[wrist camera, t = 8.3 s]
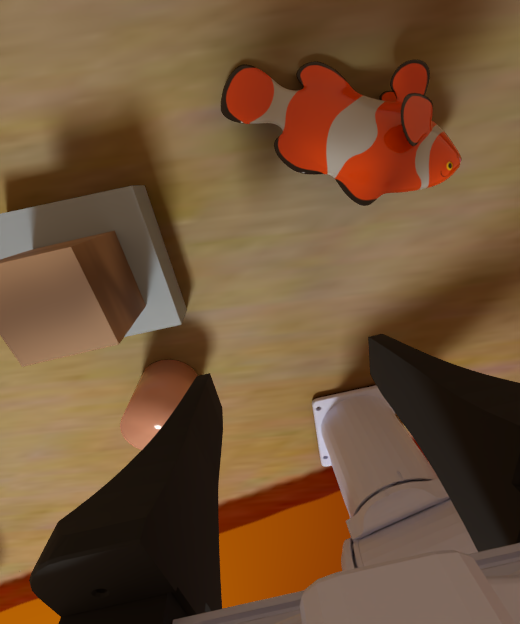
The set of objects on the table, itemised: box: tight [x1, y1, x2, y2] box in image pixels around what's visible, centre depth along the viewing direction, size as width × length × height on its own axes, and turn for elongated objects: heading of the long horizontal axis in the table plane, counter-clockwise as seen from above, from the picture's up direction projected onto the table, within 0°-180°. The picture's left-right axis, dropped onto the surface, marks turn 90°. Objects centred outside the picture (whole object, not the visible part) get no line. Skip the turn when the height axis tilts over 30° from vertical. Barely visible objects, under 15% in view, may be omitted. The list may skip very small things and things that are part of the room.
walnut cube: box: [0, 230, 146, 367], centre depth 15 cm, size 5×5×5 cm
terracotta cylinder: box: [120, 360, 198, 450], centre depth 22 cm, size 5×5×5 cm
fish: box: [221, 60, 461, 206], centre depth 15 cm, size 13×5×9 cm
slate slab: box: [0, 185, 187, 337], centre depth 19 cm, size 9×9×3 cm
